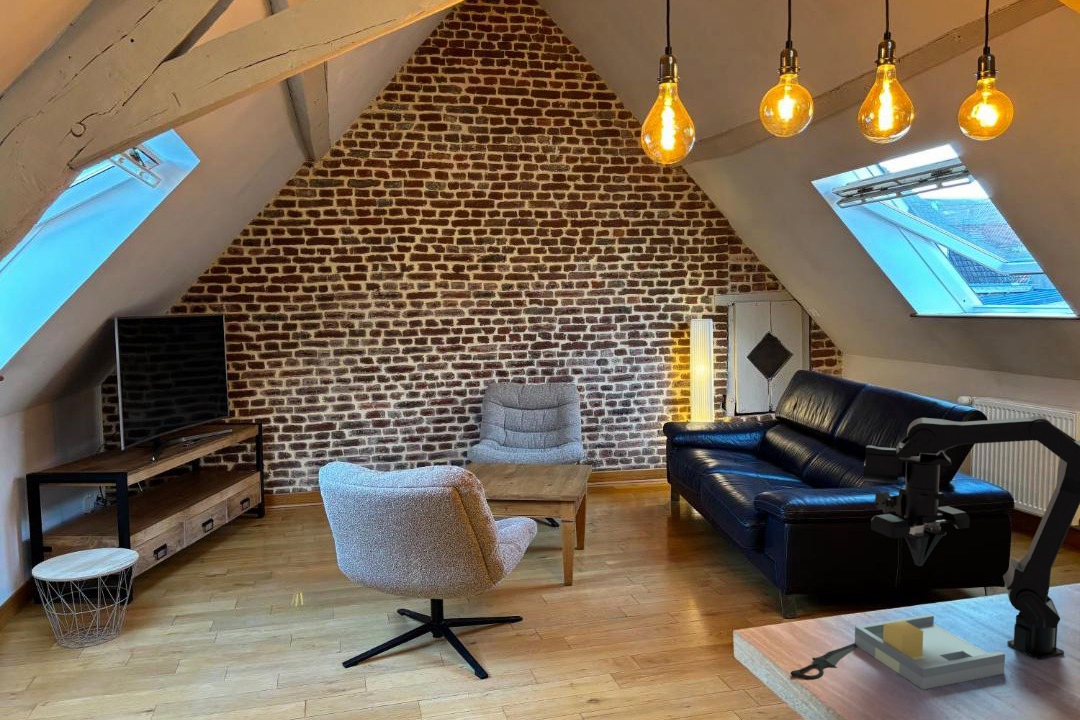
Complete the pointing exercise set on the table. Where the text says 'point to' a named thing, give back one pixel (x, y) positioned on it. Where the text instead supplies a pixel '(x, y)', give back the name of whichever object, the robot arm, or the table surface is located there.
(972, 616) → the table surface
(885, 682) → the table surface
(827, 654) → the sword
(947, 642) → the tray
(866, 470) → the robot arm
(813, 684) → the table surface
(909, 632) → the block
